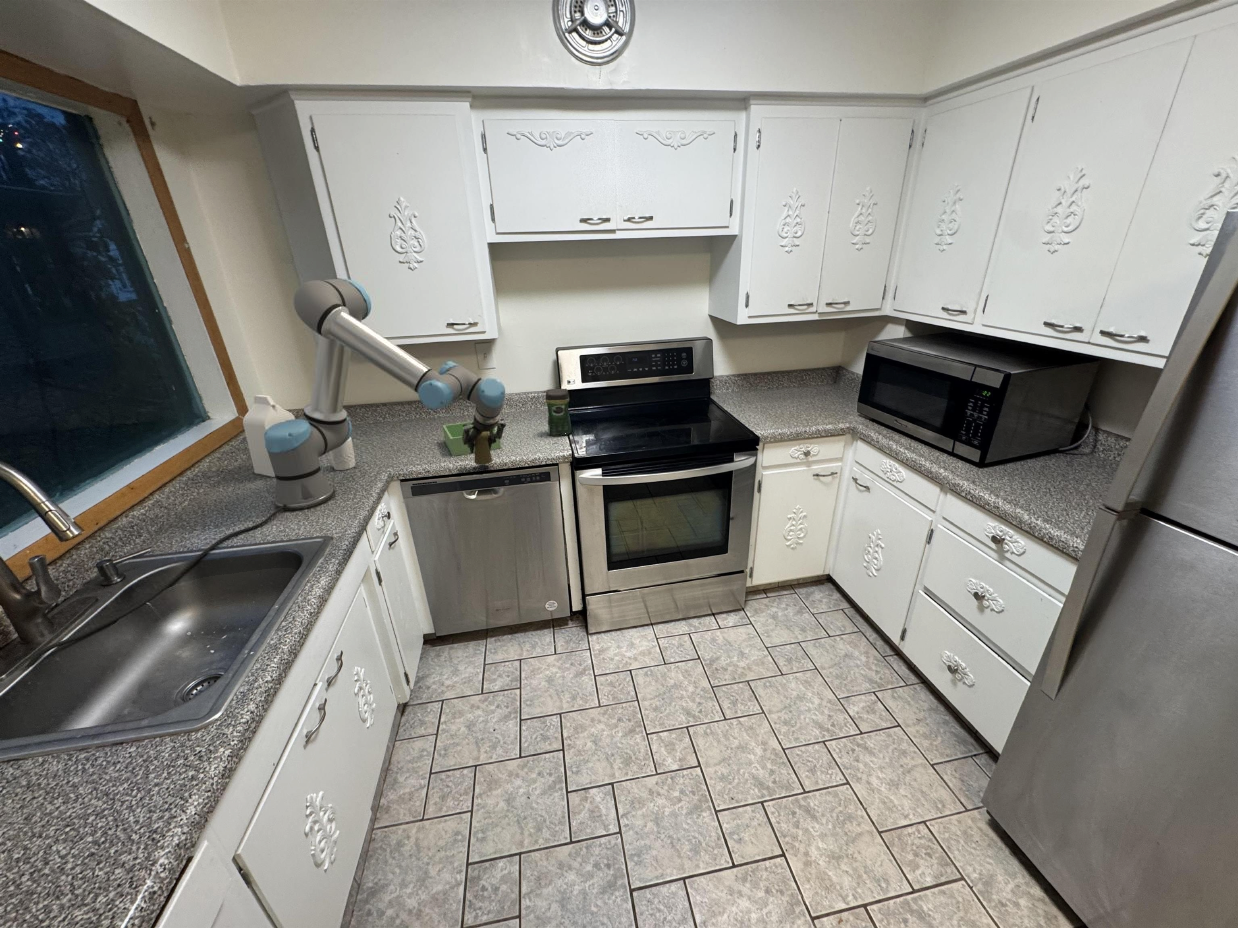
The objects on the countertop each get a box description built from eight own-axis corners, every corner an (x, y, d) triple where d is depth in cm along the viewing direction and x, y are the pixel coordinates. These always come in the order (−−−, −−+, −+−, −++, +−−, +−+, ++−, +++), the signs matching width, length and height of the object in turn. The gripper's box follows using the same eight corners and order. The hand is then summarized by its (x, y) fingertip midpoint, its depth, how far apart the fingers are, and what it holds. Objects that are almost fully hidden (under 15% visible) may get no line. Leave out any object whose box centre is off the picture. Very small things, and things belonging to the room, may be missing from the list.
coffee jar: (571, 429, 211) (568, 386, 204) (571, 435, 204) (569, 391, 197) (547, 430, 210) (544, 387, 203) (547, 437, 203) (544, 392, 196)
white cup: (352, 460, 181) (346, 434, 177) (360, 466, 175) (354, 439, 172) (329, 466, 176) (322, 439, 172) (336, 473, 170) (329, 445, 167)
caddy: (500, 448, 191) (498, 431, 189) (453, 456, 184) (450, 438, 181) (489, 434, 206) (487, 419, 203) (445, 441, 199) (442, 425, 196)
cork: (487, 465, 170) (484, 434, 165) (471, 463, 171) (467, 433, 166) (495, 458, 175) (492, 428, 171) (479, 457, 176) (475, 427, 172)
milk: (254, 472, 171) (231, 398, 161) (286, 461, 181) (266, 390, 171) (279, 477, 167) (257, 401, 157) (310, 465, 177) (291, 393, 167)
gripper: (459, 430, 150) (455, 462, 169) (519, 421, 158) (508, 453, 177) (453, 408, 152) (450, 443, 172) (512, 401, 160) (502, 435, 180)
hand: (479, 448), depth 174 cm, fingers closed on cork, 5 cm apart
